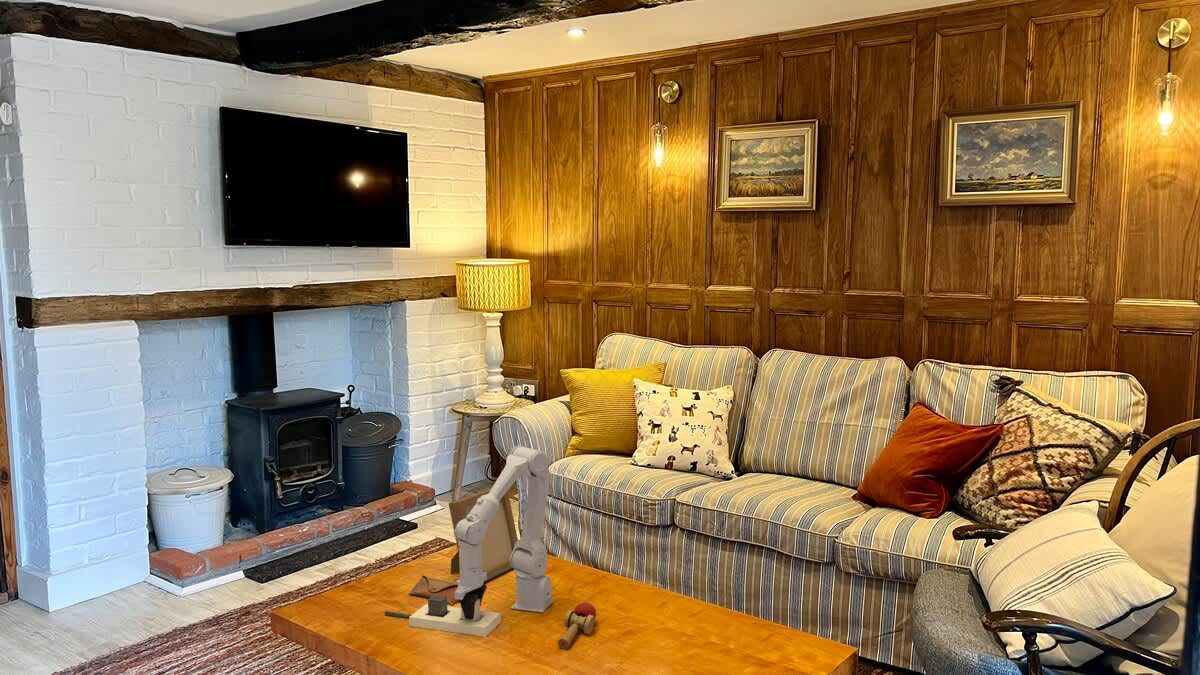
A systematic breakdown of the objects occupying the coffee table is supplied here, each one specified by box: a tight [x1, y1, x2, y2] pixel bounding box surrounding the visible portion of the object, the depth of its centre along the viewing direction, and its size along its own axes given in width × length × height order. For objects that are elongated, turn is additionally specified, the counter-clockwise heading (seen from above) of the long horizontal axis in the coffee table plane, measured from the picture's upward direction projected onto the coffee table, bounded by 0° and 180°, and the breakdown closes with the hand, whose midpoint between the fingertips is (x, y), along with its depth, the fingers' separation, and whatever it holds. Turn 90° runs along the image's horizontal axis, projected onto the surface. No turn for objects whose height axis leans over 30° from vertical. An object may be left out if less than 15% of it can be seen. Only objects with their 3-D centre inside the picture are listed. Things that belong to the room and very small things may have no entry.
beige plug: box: [460, 599, 481, 622], centre depth 229 cm, size 4×3×6 cm
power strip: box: [384, 595, 502, 638], centre depth 232 cm, size 32×9×6 cm, turn 72°
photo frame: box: [448, 487, 519, 582], centre depth 267 cm, size 15×22×25 cm
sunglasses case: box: [407, 575, 460, 607], centre depth 251 cm, size 18×7×7 cm, turn 62°
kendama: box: [557, 601, 597, 650], centre depth 224 cm, size 8×6×18 cm
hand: (472, 615), depth 229 cm, fingers closed on beige plug, 3 cm apart
